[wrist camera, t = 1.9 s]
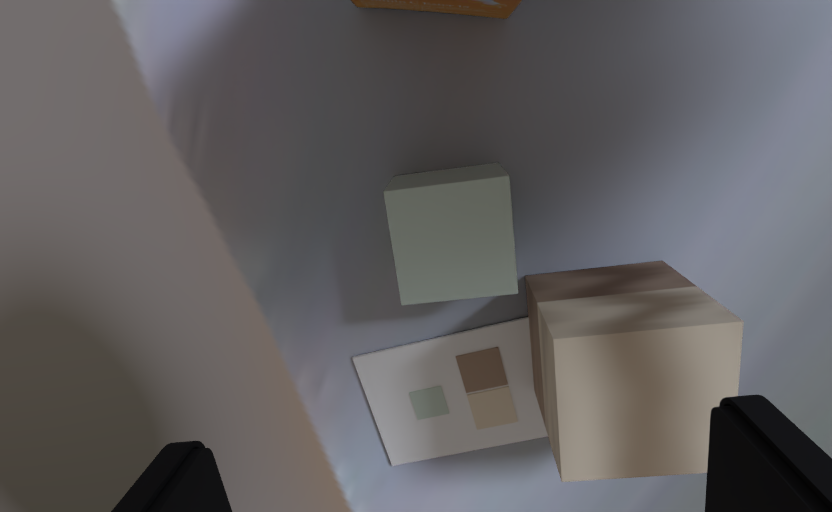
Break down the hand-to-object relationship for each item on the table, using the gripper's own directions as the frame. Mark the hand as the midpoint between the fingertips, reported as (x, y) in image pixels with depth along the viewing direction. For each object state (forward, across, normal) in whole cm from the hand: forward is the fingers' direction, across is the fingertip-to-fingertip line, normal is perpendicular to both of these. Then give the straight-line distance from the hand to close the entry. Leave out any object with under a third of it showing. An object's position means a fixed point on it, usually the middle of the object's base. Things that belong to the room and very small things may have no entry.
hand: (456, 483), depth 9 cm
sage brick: (+20, 0, 0) cm, 20 cm away
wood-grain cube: (+20, -8, +8) cm, 23 cm away
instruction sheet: (+20, +1, +12) cm, 23 cm away
